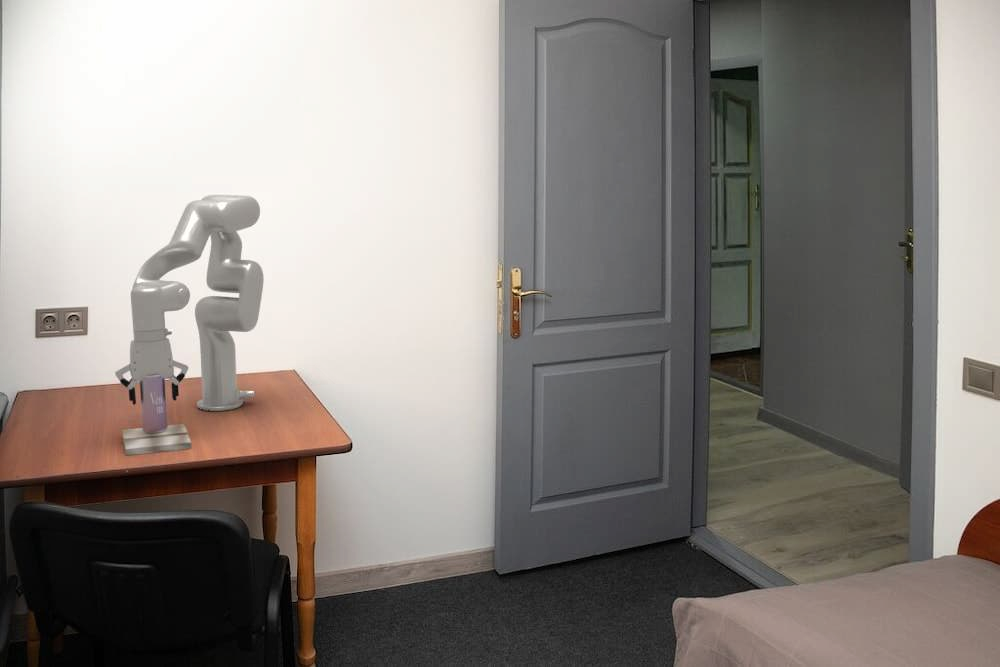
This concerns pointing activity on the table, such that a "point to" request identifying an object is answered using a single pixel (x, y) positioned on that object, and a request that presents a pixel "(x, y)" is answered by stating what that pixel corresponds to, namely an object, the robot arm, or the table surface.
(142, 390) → the beverage can
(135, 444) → the floorboard
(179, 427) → the plank
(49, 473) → the table surface
